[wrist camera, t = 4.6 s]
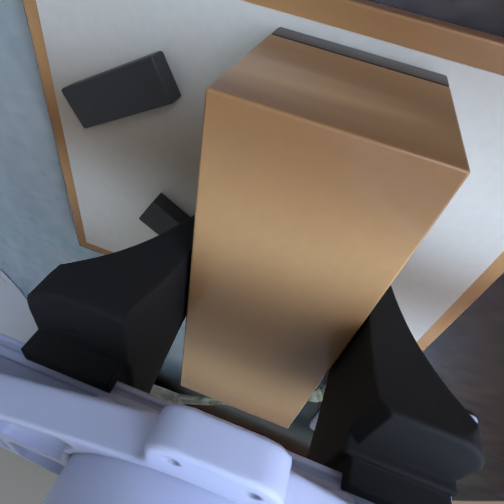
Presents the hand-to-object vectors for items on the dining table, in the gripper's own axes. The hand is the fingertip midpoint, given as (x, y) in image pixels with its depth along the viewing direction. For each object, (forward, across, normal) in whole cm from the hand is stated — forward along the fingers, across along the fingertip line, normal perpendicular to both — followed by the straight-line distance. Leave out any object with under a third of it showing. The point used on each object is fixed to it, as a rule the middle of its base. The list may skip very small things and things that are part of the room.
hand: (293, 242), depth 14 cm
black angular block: (+2, +5, +3) cm, 6 cm away
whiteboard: (+3, +2, 0) cm, 3 cm away
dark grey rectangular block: (+2, +8, -3) cm, 9 cm away
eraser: (+1, 0, 0) cm, 1 cm away
